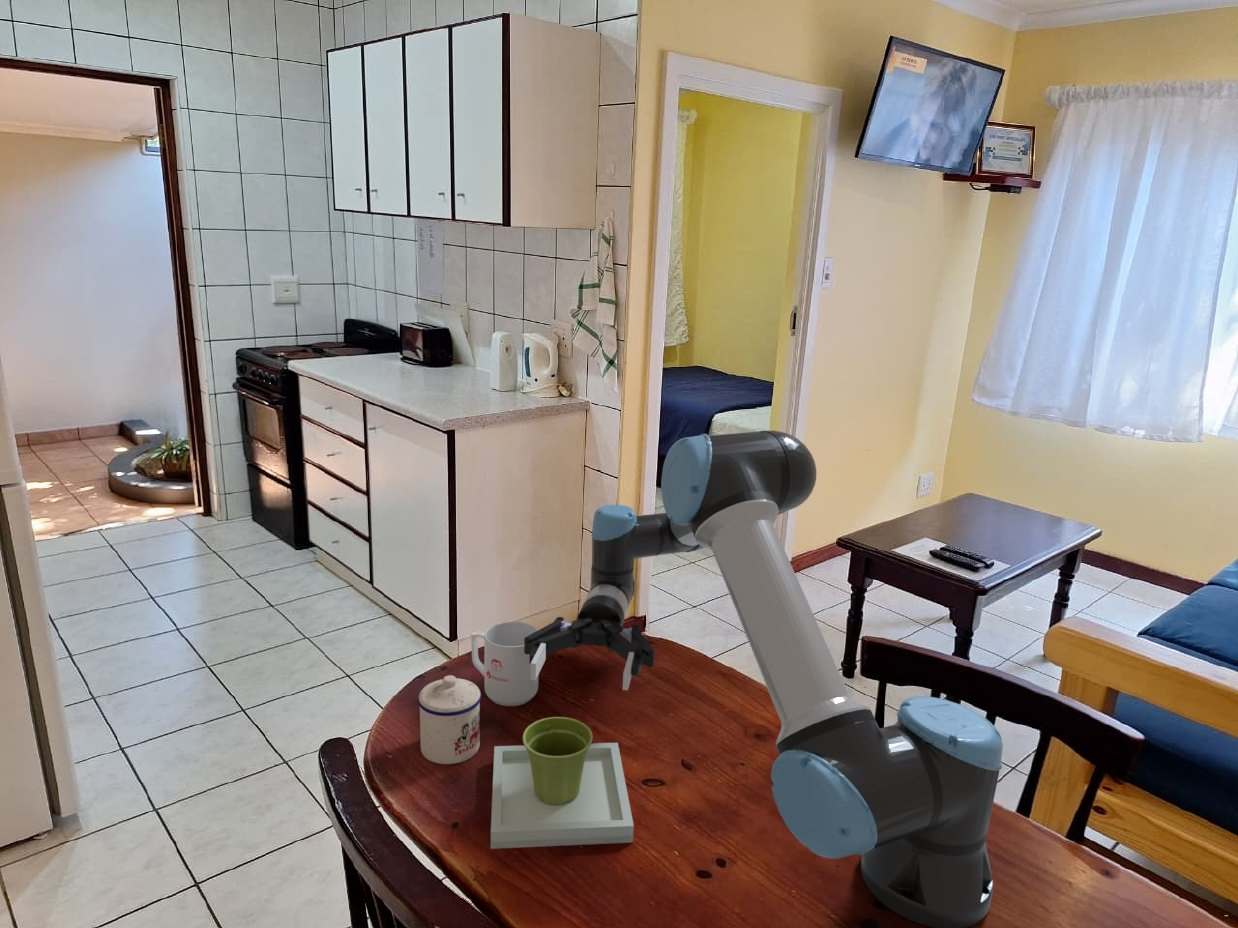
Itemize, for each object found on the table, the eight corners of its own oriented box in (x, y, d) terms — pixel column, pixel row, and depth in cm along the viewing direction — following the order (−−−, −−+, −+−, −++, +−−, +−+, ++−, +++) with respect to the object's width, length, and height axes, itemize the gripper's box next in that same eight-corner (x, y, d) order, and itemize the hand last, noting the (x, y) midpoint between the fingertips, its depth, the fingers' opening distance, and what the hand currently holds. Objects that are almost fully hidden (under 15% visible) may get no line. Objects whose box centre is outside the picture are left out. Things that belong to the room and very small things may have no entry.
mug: (547, 688, 144) (549, 628, 141) (520, 714, 136) (521, 651, 133) (487, 671, 148) (487, 613, 145) (457, 695, 140) (457, 634, 137)
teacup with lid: (464, 772, 121) (463, 699, 118) (407, 758, 123) (405, 687, 120) (499, 727, 132) (499, 659, 129) (446, 715, 135) (445, 649, 131)
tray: (632, 842, 109) (633, 825, 108) (490, 848, 107) (490, 831, 106) (617, 757, 126) (617, 742, 125) (494, 761, 124) (494, 746, 123)
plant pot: (512, 807, 113) (513, 750, 110) (533, 765, 122) (534, 711, 119) (581, 819, 111) (583, 761, 109) (597, 775, 120) (599, 721, 118)
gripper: (675, 642, 143) (663, 709, 122) (530, 628, 146) (495, 690, 125) (677, 601, 141) (666, 662, 120) (530, 587, 144) (495, 644, 123)
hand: (578, 676), depth 123 cm, fingers open, 13 cm apart
